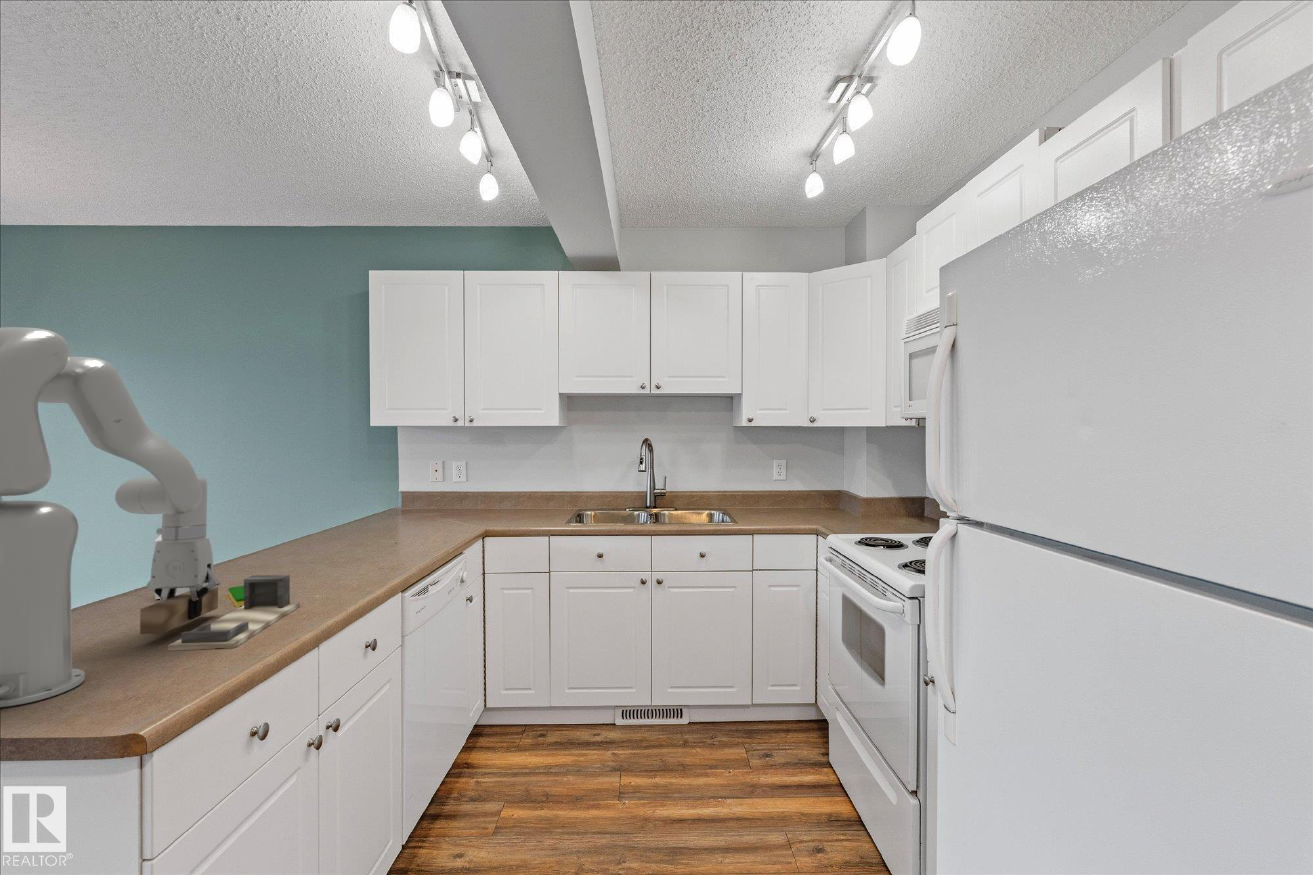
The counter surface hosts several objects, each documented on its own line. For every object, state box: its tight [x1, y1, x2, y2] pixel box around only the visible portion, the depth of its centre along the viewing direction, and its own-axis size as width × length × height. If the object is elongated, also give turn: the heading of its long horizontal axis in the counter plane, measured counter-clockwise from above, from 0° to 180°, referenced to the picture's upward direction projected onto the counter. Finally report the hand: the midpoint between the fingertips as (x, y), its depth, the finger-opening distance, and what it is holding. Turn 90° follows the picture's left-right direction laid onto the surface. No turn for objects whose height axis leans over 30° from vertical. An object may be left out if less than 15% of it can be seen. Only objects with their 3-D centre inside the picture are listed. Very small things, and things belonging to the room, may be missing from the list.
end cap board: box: [167, 574, 301, 652], centre depth 129 cm, size 27×12×8 cm, turn 7°
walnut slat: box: [139, 586, 219, 635], centre depth 126 cm, size 18×4×5 cm, turn 7°
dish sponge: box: [228, 585, 244, 608], centre depth 149 cm, size 7×14×2 cm, turn 42°
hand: (182, 617), depth 126 cm, fingers closed on walnut slat, 4 cm apart
